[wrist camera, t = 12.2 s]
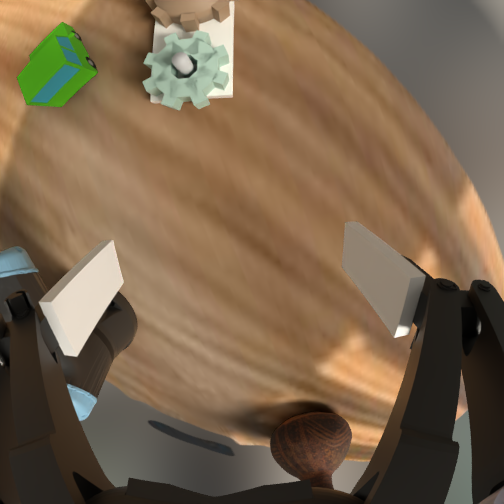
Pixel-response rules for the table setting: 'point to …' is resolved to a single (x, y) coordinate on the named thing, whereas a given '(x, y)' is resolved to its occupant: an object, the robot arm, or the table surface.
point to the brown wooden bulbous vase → (312, 446)
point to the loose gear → (193, 86)
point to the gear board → (185, 25)
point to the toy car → (56, 69)
